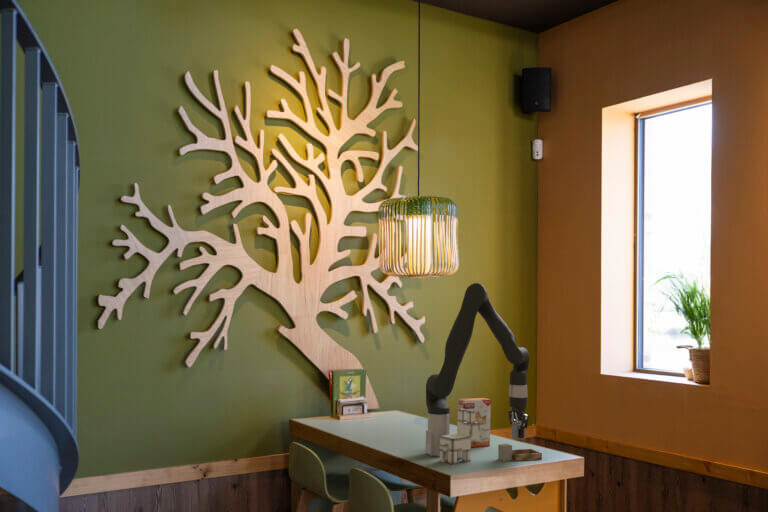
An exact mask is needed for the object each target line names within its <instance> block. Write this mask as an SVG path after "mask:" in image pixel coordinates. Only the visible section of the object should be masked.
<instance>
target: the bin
mask: <svg viewBox="0 0 768 512" xmlns="http://www.w3.org/2000/svg"><path fill="white" fill-rule="evenodd" d="M534 460H535V461H537V460H543V453H542V452H540V451H537V450H535V449H533V448H523V449H522V448H520V449H512V461H515V462H521V461H534Z"/></svg>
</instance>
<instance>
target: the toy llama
mask: <svg viewBox="0 0 768 512" xmlns="http://www.w3.org/2000/svg"><path fill="white" fill-rule="evenodd" d="M457 420H458V434H457V433H454V434H449V435H444V436H440V447H439V450H440V456H439V462H442V463H447V464H448V463H449V465H451V466H452V465H453V464H454V465H457V464H458V461H459V460H461V461H462V462H463V461H464V463H470V462H471V459H472V458H471V455H472V454H471V450H472V449H471V448H472V447H471V443H472V442H478V441H480V423H478V422H475V411H473V410H469V411H467V409H458V408H457Z"/></svg>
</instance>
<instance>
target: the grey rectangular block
mask: <svg viewBox="0 0 768 512" xmlns="http://www.w3.org/2000/svg"><path fill="white" fill-rule="evenodd" d="M520 425H521V423H520ZM518 429H519V428H518V424H517V423H515V424H512V425H511V439H514V440H516V441H521V440H526V428H525V429H524V438H519V437H518Z"/></svg>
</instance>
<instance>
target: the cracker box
mask: <svg viewBox="0 0 768 512" xmlns="http://www.w3.org/2000/svg"><path fill="white" fill-rule="evenodd" d="M491 403H492V399H490V398H486V397H477V398H476V397H475V398H471V397H470V398H457V410H458V409H467V411H469V410H473V411H475V422H478V423H480V441H478V442H472V443H471V448H481V447H490V446H491V445H490V444H491V412H492V411H491ZM456 426H457V428H456V434H458V419H457V424H456Z"/></svg>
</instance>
